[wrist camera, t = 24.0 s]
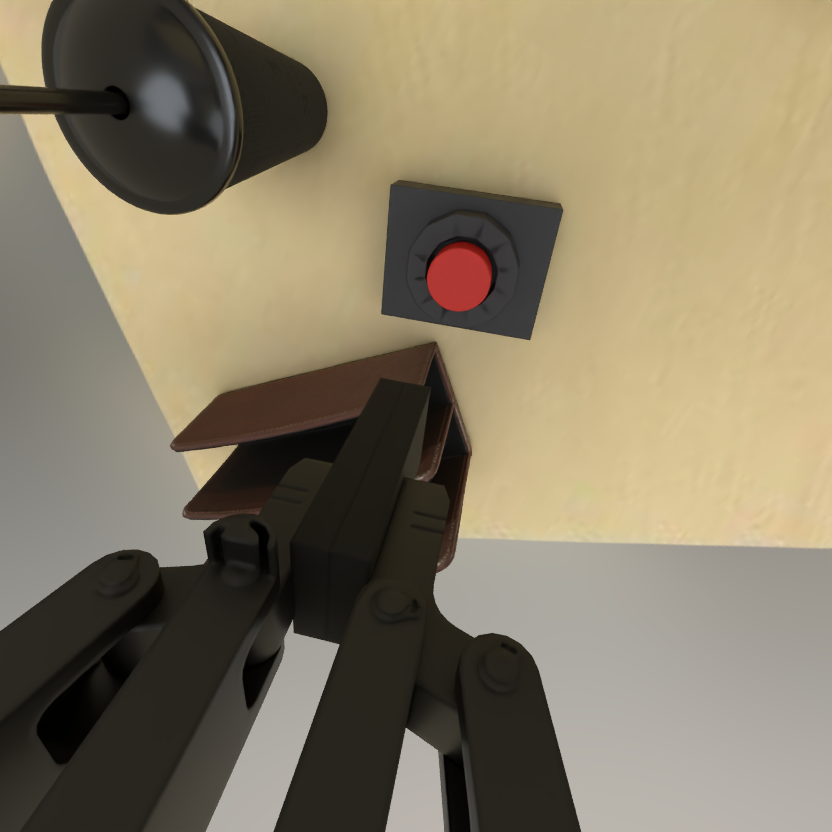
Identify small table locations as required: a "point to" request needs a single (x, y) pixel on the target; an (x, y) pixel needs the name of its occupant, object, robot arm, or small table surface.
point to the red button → (459, 276)
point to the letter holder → (323, 433)
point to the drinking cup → (168, 100)
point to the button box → (481, 225)
